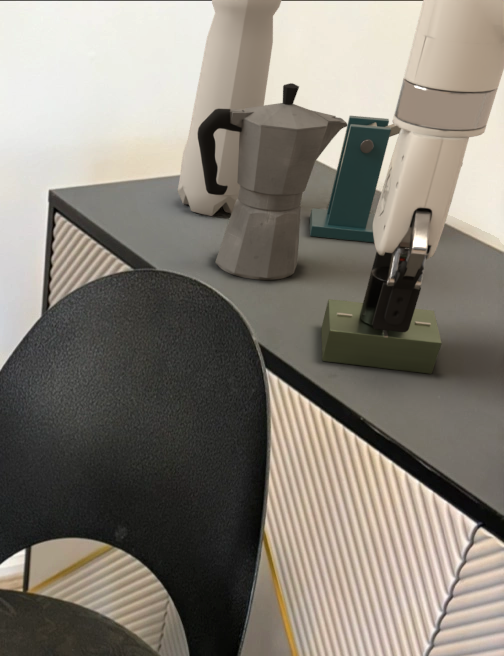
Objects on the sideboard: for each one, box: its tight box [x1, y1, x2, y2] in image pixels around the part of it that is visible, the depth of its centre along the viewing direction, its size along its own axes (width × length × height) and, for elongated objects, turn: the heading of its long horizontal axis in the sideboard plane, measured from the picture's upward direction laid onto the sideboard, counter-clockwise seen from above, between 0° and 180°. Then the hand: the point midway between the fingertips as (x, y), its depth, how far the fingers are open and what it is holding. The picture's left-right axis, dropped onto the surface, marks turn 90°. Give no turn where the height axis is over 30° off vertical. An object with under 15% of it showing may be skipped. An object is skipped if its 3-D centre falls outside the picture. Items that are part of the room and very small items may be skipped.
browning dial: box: [360, 266, 398, 325], centre depth 104 cm, size 4×4×4 cm
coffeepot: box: [197, 82, 348, 281], centre depth 118 cm, size 15×9×18 cm, turn 93°
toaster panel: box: [320, 298, 442, 375], centre depth 106 cm, size 10×9×3 cm
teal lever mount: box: [309, 115, 391, 244], centre depth 130 cm, size 8×7×12 cm
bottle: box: [177, 0, 282, 217], centre depth 129 cm, size 9×9×30 cm
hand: (386, 309), depth 104 cm, fingers open, 9 cm apart
